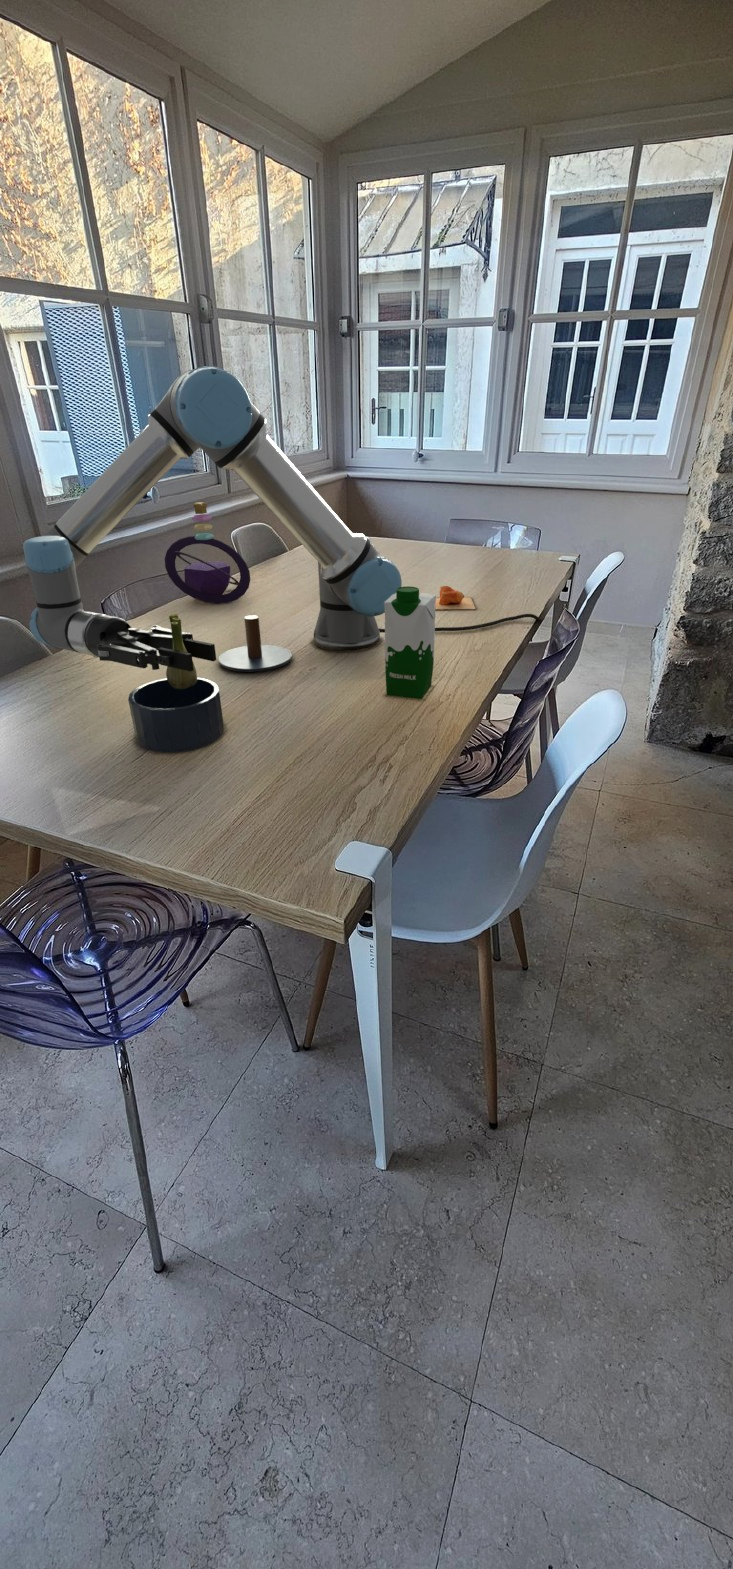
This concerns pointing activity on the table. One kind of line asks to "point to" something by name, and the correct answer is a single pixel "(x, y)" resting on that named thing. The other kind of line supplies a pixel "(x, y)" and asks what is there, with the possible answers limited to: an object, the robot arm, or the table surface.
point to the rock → (453, 600)
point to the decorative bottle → (207, 566)
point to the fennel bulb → (174, 675)
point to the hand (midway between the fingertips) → (202, 657)
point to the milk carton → (409, 642)
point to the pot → (176, 715)
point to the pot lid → (254, 652)
